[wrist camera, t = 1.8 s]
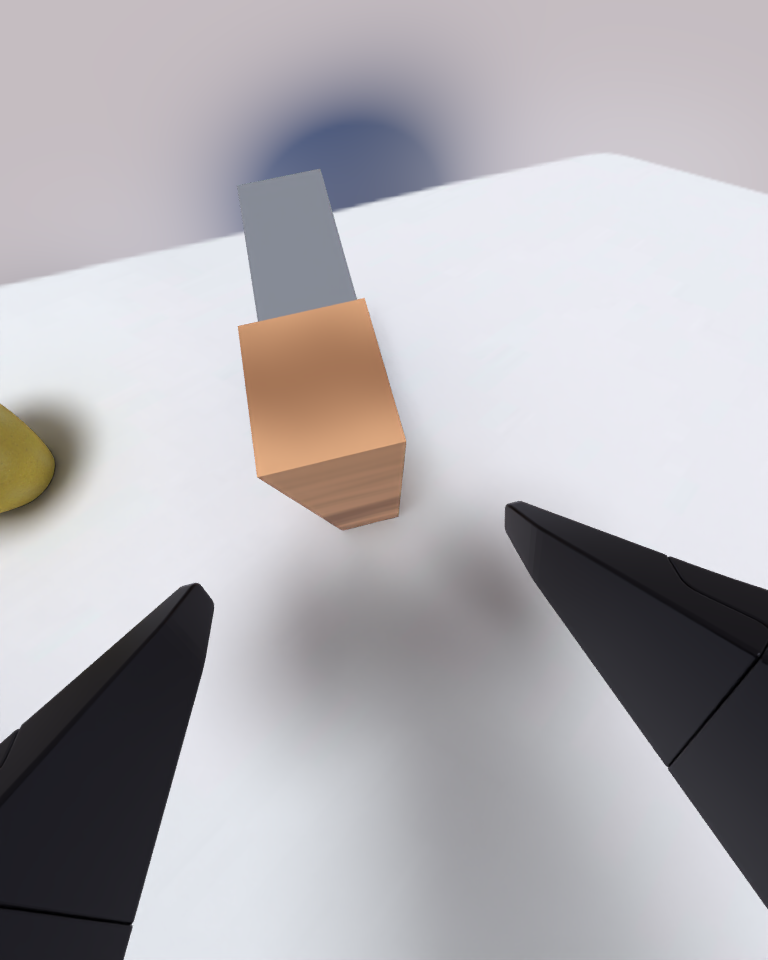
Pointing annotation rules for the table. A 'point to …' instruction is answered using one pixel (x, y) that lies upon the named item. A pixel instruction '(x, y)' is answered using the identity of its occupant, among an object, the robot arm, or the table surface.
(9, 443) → the yellow bowl
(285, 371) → the wooden post
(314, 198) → the grey flat block
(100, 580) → the table surface
